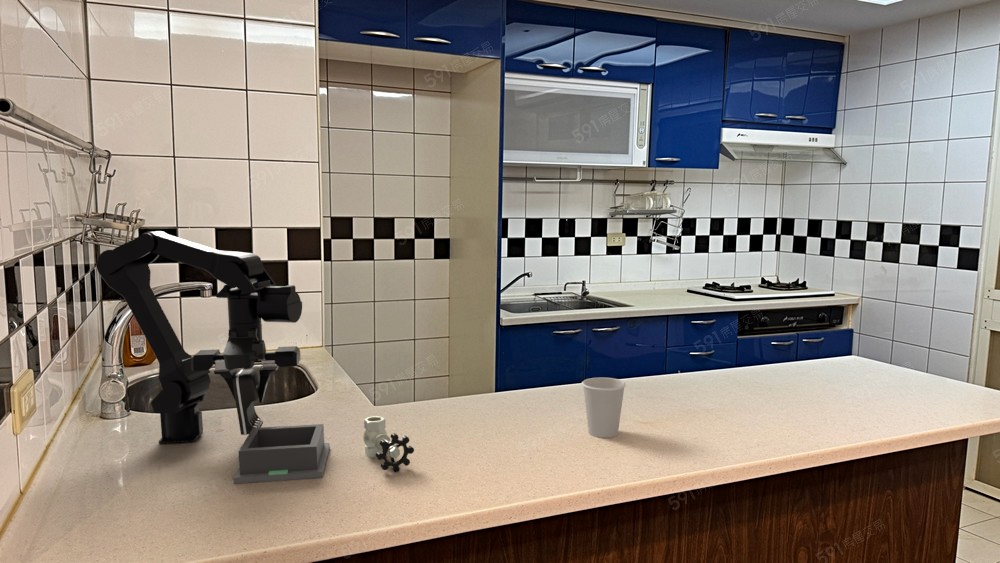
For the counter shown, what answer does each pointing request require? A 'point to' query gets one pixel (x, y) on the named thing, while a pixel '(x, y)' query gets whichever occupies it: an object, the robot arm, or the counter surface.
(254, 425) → the battery charger
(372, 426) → the valve
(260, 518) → the counter surface
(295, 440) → the dock
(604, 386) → the dixie cup
